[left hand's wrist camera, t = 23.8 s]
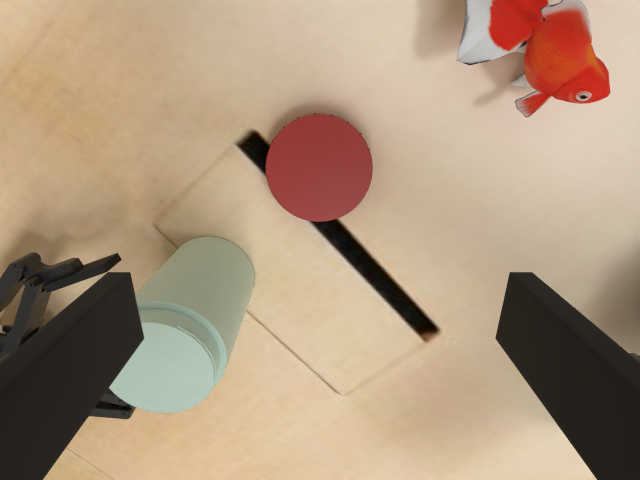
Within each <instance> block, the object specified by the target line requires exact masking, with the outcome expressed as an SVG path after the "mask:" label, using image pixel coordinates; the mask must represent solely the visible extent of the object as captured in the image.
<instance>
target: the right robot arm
mask: <svg viewBox="0 0 640 480" xmlns="http://www.w3.org/2000/svg"><path fill="white" fill-rule="evenodd" d="M121 260H122V259H121V258H120V256H119V254H118V253H116V254H113V255H111V256H108V257H105V258H102V259H100V260H97V261H94V262H91V263H88V264H86V265H83V264H82V262H81V261H80V259H79V258H71V259H69V260H66V261H63V262H60V263H58V264H55V265H52V266H48V265H45V264H43V263H42V262H41V257H40V255H38V254H37V253H34V252H32V253H29V254H28V255H26V256H24V257H22V258H20V259H18V260H17V261H15V262H13V263H11V264H10V265H9V266H8V268H7V269H6V271H5V272H4V274H3V275H2V276H1V278H0V321H1V320H2V319H3V314H5V310H3V309H4V308H5V307H7V306H8V305H9V304H10V303H11V301H12V300H13V299H14V297H15V296H16V294H17V293H18V292H19V290H20V289H21V288H22V286H23V285H24V284H25V285H24V286H25V289H24V292H23V295H22V298H21V302H20V305H19V308H18V311H17V315H16V318H15V321H14V325H13V326H7V325H5V326H2V325H1V323H0V358H1V357H3V356H5V355H10V354H11V353H13V352H14V351H15V350H16V349H17V348H18V347H20V346H21V345H22V344H23V343H24V342H26V341H27V340H28V339H29V338H30V337H32V336H33V335H34V334H35V333H36V332H38V331H39V330H40V329H41V328H42V325H43V322H44V319H43V315H44V312H45V309H46V306H47V303H48V300H49V297H50V294H51V292H52V291H54V290H57V289H60V288H63V287H66V286H69V285H71V284H74V283H77V282H80V281H83V280H85V279H88V278H91V277H94V276H97V275H100V274H102V273H105V272H107V271H109V270H110V269H111V268H112V267H113V266H115V265H116V264H117V263H118V262H119V261H121ZM135 408H136V407H134V406H132V405H130V404H128V403H127V402H125V401H123V400H122V399H120V398H119V397H118V396H117V395H116V394H114V393H113V392H112V391H111V389H110V388H108V390H107V391H106V393H105V394H104V395H103V397H102V398H101V399H100V401H99V402H98V404H97V405H96V406H95V408H94V409H93V411H92V412H91V413H90V415H89V416H95V417H107V418H119V419H129V418H130V417H131V415H132V414H133V412H134V410H135Z"/></svg>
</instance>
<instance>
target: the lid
mask: <svg viewBox="0 0 640 480" xmlns="http://www.w3.org/2000/svg"><path fill="white" fill-rule="evenodd" d="M369 150H370V149H369V148H368V146H367V144H366V142H365V140H364V139H363V137H362V136H361V133H359V132H358V131H357V130H356V129H355V128H354V127H352V126H351V125H350V124H349V122H348V121H347V122H346V121H344V120H342V119H340V118H338V117H335V116H333V115H327V114H316V113H314V114H311V115H306V116H303V117H300V118H299V117H298V118H297V119H296V120H294V121H292V122H291V123H289V124H288V125H287V126H286V127H285V126H284V127H283V129H282V130H281V131H280V132H279V134H278V135H277V136H276V137H275V139H274V140H273V141H272V144H271V146H270V149H269V151H268V155H267V157H266V158H267V160H266V177H267V181H268V185H269V188H270V190H271V192H272V194H273V196H274V197H275V199H276V200H277V201H278V203H279V204H280V205H281V206H282V207H283V208H284V209H285V210H287V211H288V212H289V213H291V214H293V215H294V216H297V217H299V218H301V219H305V220H309V221H319V222H321V221H329V220H334V219H337V218H340V217H342V216H344V215H346V214H347V213H349V212H350V211H352V210H353V209H354V208H355V207H356V206H357V205H358V204H359V203H360V202H361V200H362V199H363V198H364V196H365V194H366V192H367V191H368V188H369V185H370V182H371V178H372V167H373V166H372V159H371V154H370V151H369Z"/></svg>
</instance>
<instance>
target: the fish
mask: <svg viewBox="0 0 640 480" xmlns="http://www.w3.org/2000/svg"><path fill="white" fill-rule="evenodd" d="M465 1H466V13H465V25H464V30H463V34H462V38H461V42H460V47H459V51H458V56H457V61H459V62H462V63H465V64H468V65H473V64H477V63H482V62H486V61H490V60H493V59H496V58H499V57H502V56H504V55H506V54H508V53H510V52H520V53H524V54H525V56H524V73H523V74H522V75H521V76H520V77H518V78H517V79H516V80H514V81H513V82H512V83H511V84H512V86H518V87H533V88H534V89H536V90H537V91H535V92H533V93H531V94H529V95H527V96H525V97H523V98H520V99H517V100H516V101H515V103H516V107H517V109H518V110H519V111H520V112H521V113H523V115H524V116H525V117H529V116H530V115H532V114H533V113H534V112H536V111H537V110H538V109H539V108H540V107H541V106H542V105H543V104H544V103H545V102H546V101H547V100H548V99H549V98H550V97H551V96H553V97H554V98H556V99H558V100H563V101H567V102H572V103H579V104H583V103H591V102H595V101H598V100H601V99H603V98H605V97H607V96H609V94H610V85H609V72H608V70H607V68H606V66H605V65H604V63H603V62H602V61H601V60H600V59H598V58H597V57H596V56H595V53H594V50H593V47H592V45H591V41H592V37H591V28H590V21H589V17H588V12H587V8H586V7H585V5H584V4H583V3H582V1H581V0H562V1H561V2H560V3H558V4H555V5H550V6H549V3H550V1H551V0H465ZM545 20H546V21H545Z"/></svg>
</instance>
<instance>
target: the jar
mask: <svg viewBox="0 0 640 480" xmlns="http://www.w3.org/2000/svg"><path fill="white" fill-rule="evenodd" d="M254 284H255V273H254V268H253V265H252V263H251V261H250V259H249V258H248V256H247V255H246V254H245V253H244V251H243V250H242V249H240V248H239V247H238V246H237V245H235V244H234V243H232V242H230V241H228V240H225V239H222V238H219V237H212V236H204V237H198V238H194V239H191V240H189V241H187V242H185V243H184V244H183V245H181V246H180V247H179V248H178V249H177V250H176V251H175V252H174V254H173V255H172V256H171V257H170V258H169V259H168V260H167V261H166V262H165V263H164V264H163V265H162V267H161V268H160V269H159V270H158V271H157V272H156V273H155V274H154V275H153V276H152V277H151V279H150V280H149V281H148V282H147V283H146V284H145V285H144V286H143V287H142V288H141V289H140V290H139V292H138V293H137V294H136V295H135V297H136V302H137V306H138V311H139V316H140V320H141V325H142V329H143V334H144V340H143V341H142V343H141V344H140V345H139V347H138V348H137V349H136V351H135V352H134V354H133V355H132V356H131V358H130V359H129V361H128V362H127V363H126V365H125V366H124V368H123V369H122V370H121V372H120V373H119V374H118V376H117V377H116V379H115V380H114V381H113V383H112V384H111V386H110V387H109V388H110V389H111V391H112V392H113V393H114V394H116V395H117V396H118V397H119V398H120V399H122V400H123V401H125V402H127V403H128V404H130V405H132V406H134V407H137V408H139V409H142V410H146V411H150V412H156V413H175V412H181V411H184V410H187V409H190V408H192V407H194V406H196V405H197V404H199V403H200V402H201V401H202V400H203V399H204V398H206V397H207V395H208V394H209V393H210V391H211V390H212V389H213V387H215V386H216V384H217V383H218V382H219V381H220V380H221V378H222V377H223V374H224V372H225V370H226V367H227V364H228V361H229V358H230V355H231V352H232V349H233V346H234V344H235V341H236V338H237V335H238V332H239V329H240V326H241V323H242V320H243V317H244V314H245V311H246V309H247V306H248V303H249V300H250V297H251V294H252V291H253V288H254Z"/></svg>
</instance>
